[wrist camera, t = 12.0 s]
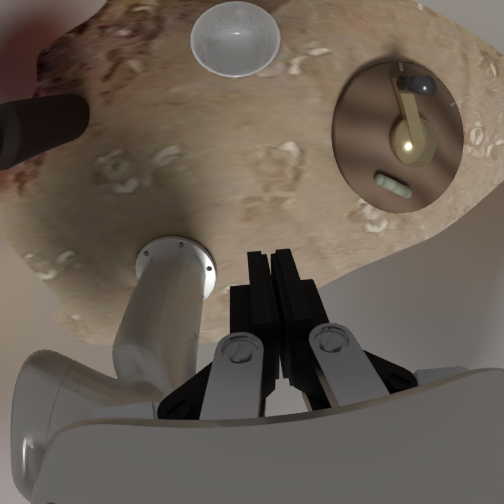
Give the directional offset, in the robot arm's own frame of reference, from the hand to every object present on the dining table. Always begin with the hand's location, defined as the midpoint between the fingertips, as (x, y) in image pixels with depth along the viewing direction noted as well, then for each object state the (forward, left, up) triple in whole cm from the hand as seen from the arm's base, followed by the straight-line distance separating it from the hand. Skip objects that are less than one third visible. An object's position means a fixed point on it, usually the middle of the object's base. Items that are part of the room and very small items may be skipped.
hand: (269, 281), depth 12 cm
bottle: (0, +25, -27) cm, 37 cm away
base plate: (+10, -20, -27) cm, 35 cm away
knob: (+12, -18, -25) cm, 33 cm away
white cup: (+12, +5, -27) cm, 30 cm away
